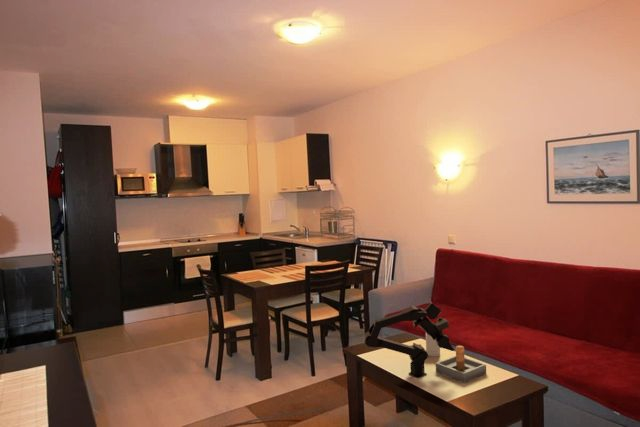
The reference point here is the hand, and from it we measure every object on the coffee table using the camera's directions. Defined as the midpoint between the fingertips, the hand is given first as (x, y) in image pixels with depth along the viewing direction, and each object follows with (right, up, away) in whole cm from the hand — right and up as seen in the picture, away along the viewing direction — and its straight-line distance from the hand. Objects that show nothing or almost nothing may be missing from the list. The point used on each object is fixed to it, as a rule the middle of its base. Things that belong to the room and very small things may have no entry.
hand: (450, 347), depth 216 cm
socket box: (+5, -13, +1) cm, 14 cm away
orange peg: (+5, -13, +1) cm, 14 cm away
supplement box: (-2, -12, +27) cm, 30 cm away
